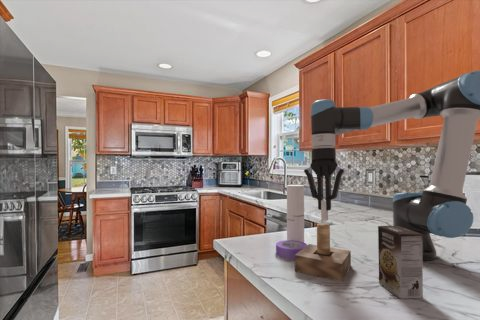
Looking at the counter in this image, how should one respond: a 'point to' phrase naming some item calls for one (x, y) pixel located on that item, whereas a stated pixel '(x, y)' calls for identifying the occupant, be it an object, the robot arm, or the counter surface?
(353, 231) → the counter surface
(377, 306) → the counter surface
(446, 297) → the counter surface
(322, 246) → the peg
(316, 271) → the seat block
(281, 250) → the masking tape
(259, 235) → the counter surface
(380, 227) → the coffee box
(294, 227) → the cylindrical container
